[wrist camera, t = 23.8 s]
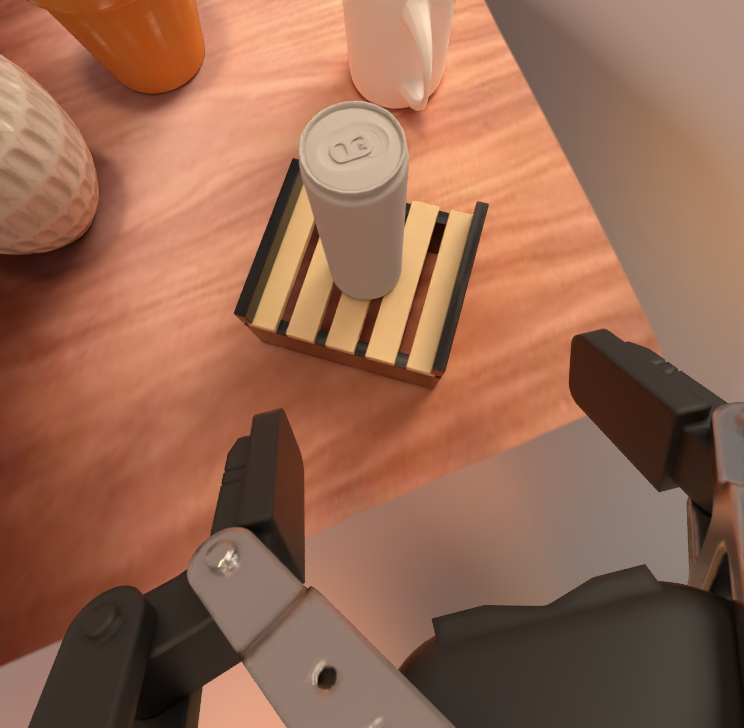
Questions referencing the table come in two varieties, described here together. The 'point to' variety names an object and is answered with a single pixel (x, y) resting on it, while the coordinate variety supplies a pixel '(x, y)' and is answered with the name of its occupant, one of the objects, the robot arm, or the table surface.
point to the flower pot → (137, 38)
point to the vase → (41, 169)
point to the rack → (302, 334)
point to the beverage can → (357, 193)
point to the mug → (397, 49)
